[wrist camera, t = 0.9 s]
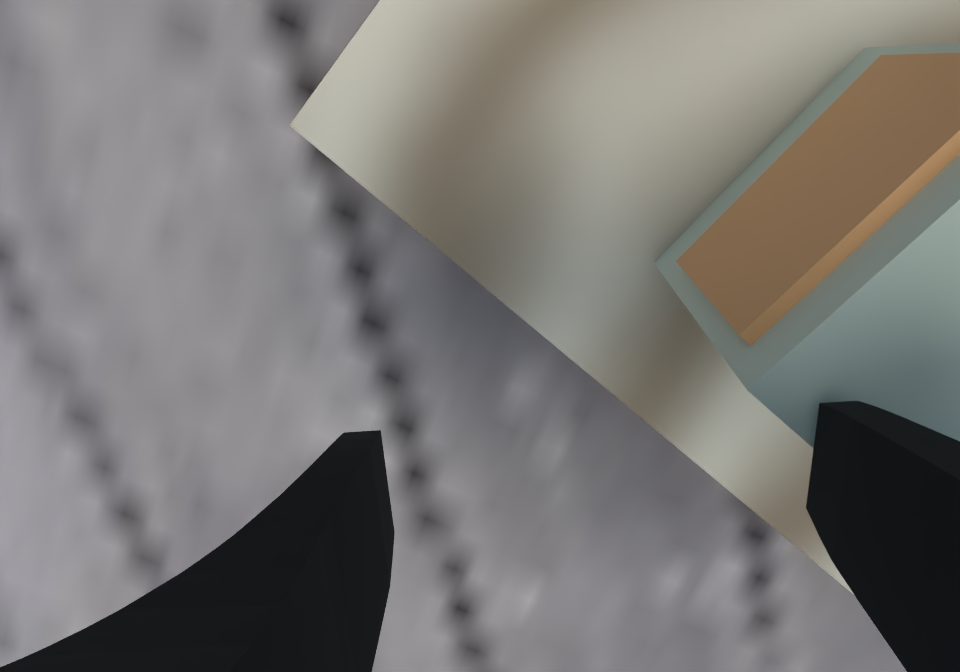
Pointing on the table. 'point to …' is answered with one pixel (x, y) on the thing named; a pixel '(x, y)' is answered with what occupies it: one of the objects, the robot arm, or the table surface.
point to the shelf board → (603, 177)
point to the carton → (843, 249)
